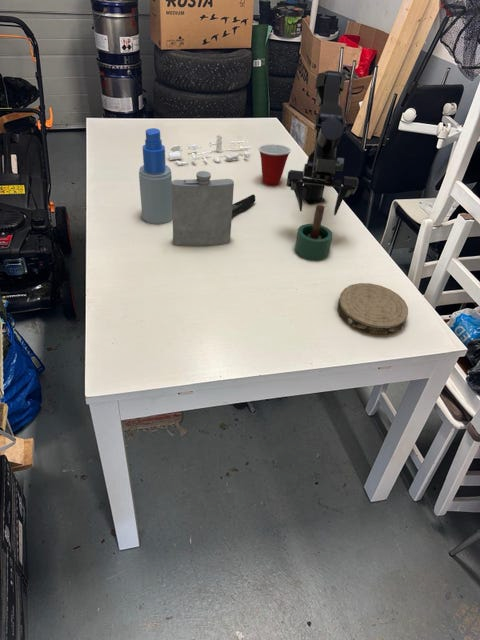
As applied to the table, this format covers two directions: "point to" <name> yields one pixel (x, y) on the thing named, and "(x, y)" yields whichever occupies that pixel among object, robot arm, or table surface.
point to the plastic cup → (273, 162)
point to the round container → (313, 243)
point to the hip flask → (202, 210)
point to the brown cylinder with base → (317, 223)
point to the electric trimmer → (243, 204)
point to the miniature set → (177, 155)
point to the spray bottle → (155, 181)
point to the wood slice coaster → (372, 309)
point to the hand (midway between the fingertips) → (317, 213)
